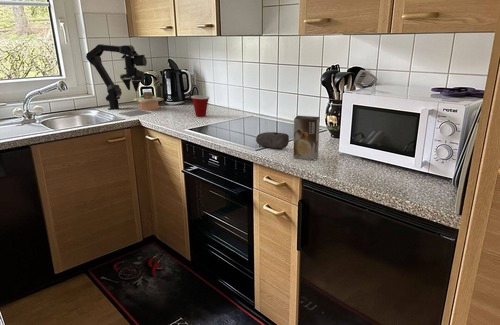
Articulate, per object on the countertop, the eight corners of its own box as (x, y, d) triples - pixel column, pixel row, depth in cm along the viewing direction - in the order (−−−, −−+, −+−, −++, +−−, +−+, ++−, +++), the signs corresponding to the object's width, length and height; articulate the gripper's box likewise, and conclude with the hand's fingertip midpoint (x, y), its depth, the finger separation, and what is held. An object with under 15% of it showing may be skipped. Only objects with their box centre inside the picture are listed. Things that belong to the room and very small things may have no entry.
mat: (118, 114, 234) (118, 113, 234) (139, 110, 244) (139, 110, 244) (130, 117, 224) (130, 116, 224) (152, 114, 235) (152, 113, 234)
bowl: (136, 109, 249) (135, 100, 247) (152, 107, 257) (151, 98, 255) (146, 111, 241) (145, 102, 239) (162, 109, 249) (161, 100, 247)
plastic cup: (209, 117, 222) (208, 97, 219) (190, 117, 223) (189, 97, 219) (211, 114, 233) (210, 94, 229) (193, 114, 233) (192, 94, 229)
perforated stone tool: (253, 146, 165) (253, 131, 162) (259, 143, 169) (259, 128, 167) (284, 151, 157) (284, 135, 155) (289, 148, 162) (290, 132, 159)
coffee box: (318, 156, 151) (320, 116, 146) (315, 160, 146) (317, 119, 140) (296, 153, 154) (297, 115, 149) (292, 158, 149) (293, 118, 144)
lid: (133, 100, 247) (132, 92, 245) (151, 97, 257) (151, 90, 255) (144, 102, 238) (143, 94, 236) (163, 100, 247) (162, 92, 246)
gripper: (149, 65, 238) (151, 90, 243) (134, 64, 250) (136, 88, 255) (133, 66, 230) (135, 92, 235) (118, 65, 243) (121, 89, 248)
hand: (132, 90), depth 244 cm, fingers open, 9 cm apart
